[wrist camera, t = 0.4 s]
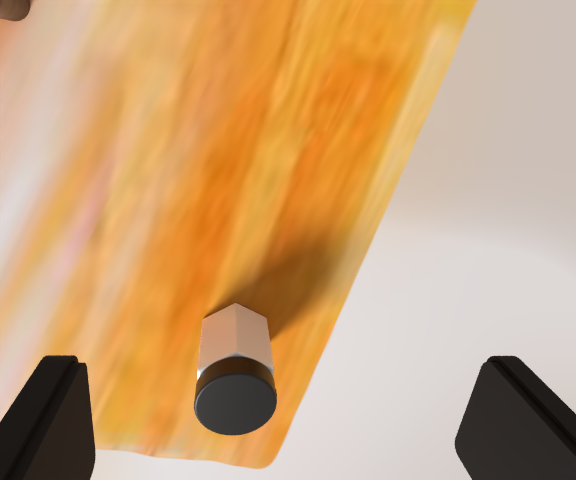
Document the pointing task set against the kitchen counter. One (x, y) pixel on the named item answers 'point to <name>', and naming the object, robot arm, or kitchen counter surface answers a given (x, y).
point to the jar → (235, 372)
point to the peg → (14, 9)
